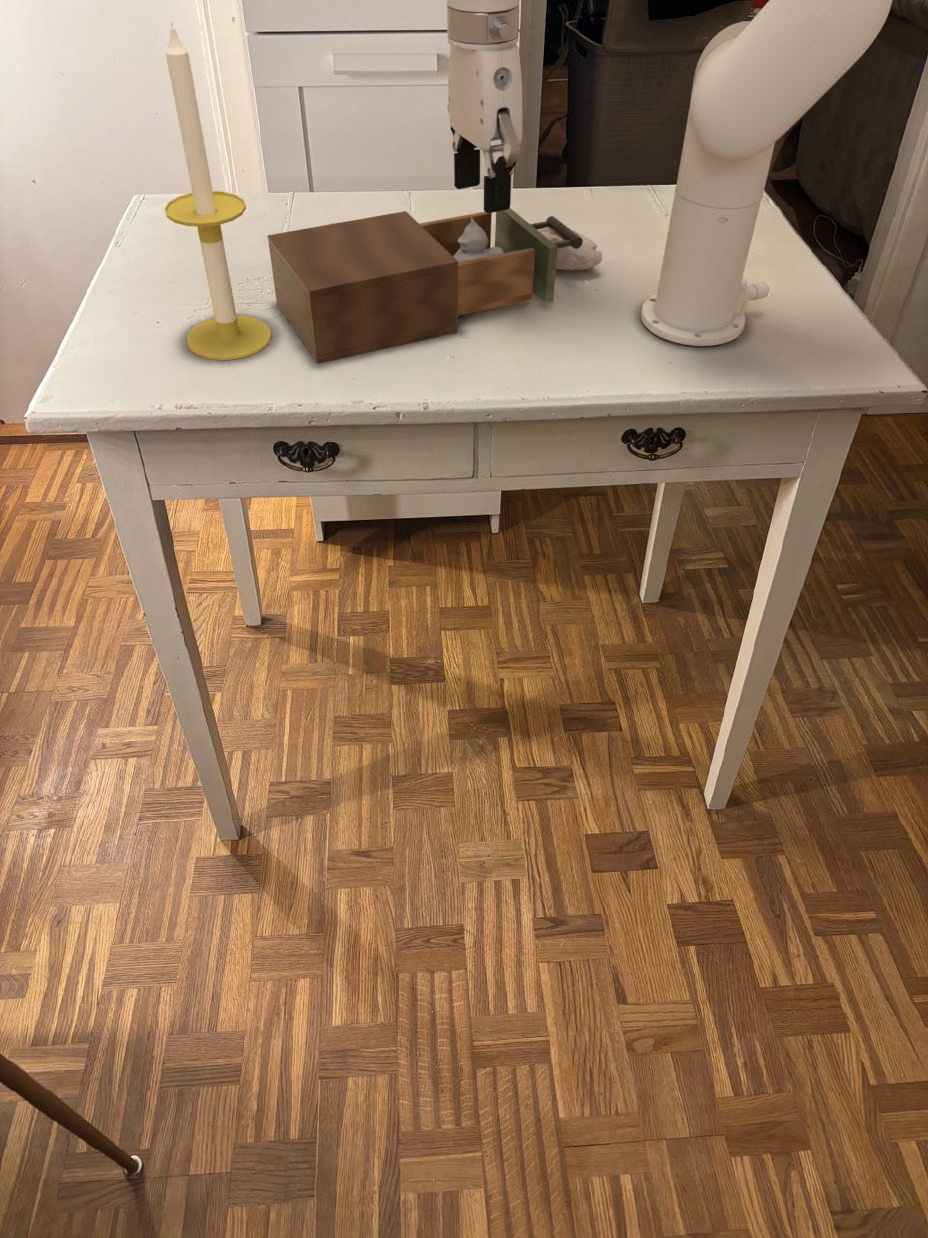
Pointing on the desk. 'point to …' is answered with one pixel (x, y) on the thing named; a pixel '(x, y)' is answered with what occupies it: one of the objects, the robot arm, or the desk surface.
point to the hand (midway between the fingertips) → (481, 197)
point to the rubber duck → (474, 244)
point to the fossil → (574, 253)
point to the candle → (208, 227)
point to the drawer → (504, 259)
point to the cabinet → (364, 285)
